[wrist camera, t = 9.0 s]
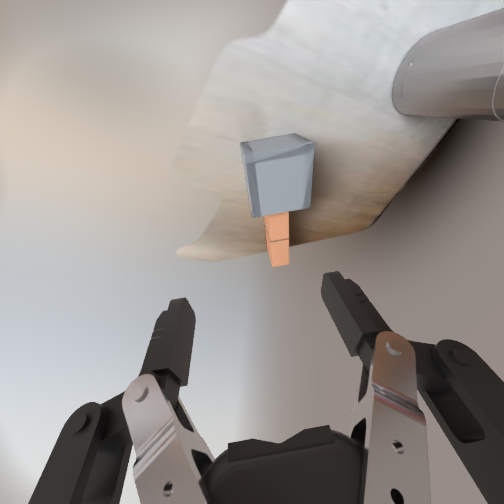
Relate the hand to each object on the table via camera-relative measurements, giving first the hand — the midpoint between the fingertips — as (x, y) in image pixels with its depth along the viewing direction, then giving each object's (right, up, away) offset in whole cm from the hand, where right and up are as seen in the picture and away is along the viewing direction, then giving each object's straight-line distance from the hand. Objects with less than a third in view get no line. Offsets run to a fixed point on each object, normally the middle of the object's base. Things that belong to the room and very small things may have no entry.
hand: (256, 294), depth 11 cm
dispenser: (+3, +18, +23) cm, 29 cm away
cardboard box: (+4, +9, +29) cm, 31 cm away
